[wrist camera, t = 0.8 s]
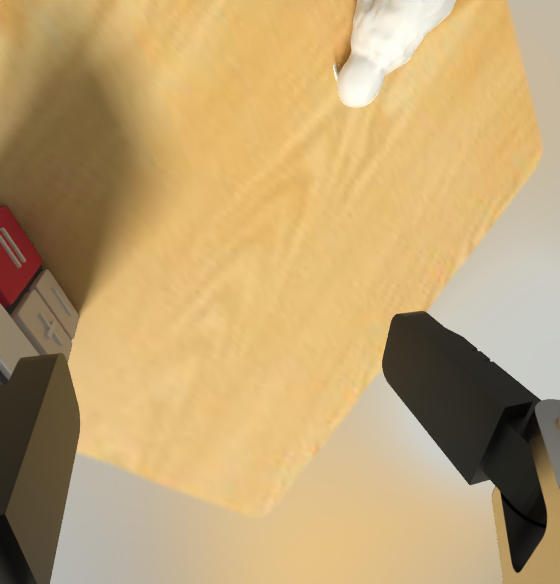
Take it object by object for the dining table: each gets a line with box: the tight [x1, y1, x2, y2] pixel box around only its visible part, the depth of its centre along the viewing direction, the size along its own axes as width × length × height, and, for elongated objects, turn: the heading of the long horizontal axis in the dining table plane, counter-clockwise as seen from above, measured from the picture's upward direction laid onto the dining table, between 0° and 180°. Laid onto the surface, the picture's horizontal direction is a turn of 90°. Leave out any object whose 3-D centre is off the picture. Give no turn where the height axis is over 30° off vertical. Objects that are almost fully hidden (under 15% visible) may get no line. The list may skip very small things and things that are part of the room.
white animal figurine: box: [332, 0, 456, 108], centre depth 31 cm, size 6×8×12 cm
